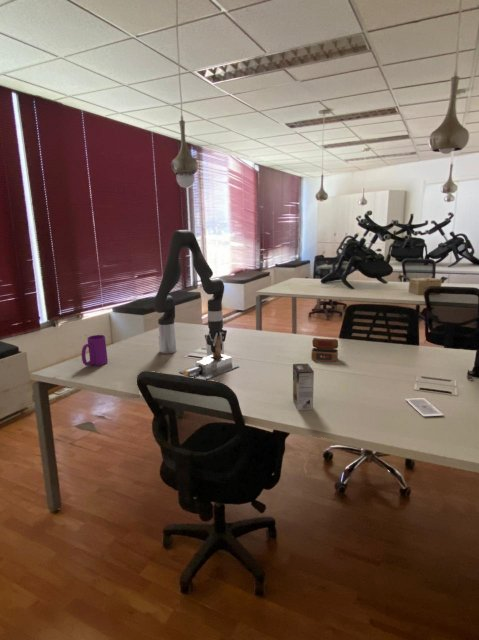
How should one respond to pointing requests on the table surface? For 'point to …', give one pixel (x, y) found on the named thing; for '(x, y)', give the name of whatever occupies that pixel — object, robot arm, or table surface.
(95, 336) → the mug
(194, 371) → the lock pin
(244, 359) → the table surface
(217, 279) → the robot arm
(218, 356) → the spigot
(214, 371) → the dock
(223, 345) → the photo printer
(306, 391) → the coffee box
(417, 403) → the touchpad
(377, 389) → the table surface
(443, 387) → the table surface
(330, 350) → the box
